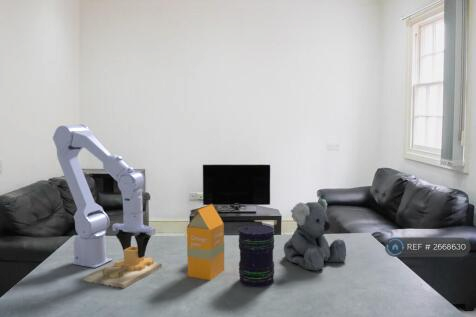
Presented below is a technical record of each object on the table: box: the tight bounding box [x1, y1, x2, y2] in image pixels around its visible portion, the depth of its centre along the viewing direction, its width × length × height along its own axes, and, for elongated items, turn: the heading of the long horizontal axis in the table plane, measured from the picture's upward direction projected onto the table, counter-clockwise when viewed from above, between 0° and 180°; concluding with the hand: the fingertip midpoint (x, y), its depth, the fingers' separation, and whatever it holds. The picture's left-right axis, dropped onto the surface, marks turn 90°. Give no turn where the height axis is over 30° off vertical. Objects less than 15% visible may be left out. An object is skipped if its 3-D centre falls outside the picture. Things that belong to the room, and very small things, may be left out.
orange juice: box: [186, 203, 225, 281], centre depth 132 cm, size 8×9×20 cm
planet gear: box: [115, 245, 155, 271], centre depth 137 cm, size 10×10×5 cm
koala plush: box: [283, 198, 347, 272], centre depth 142 cm, size 17×18×20 cm
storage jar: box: [238, 224, 275, 289], centre depth 126 cm, size 10×10×15 cm
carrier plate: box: [83, 257, 162, 289], centre depth 133 cm, size 14×18×4 cm
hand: (134, 255), depth 137 cm, fingers open, 5 cm apart
